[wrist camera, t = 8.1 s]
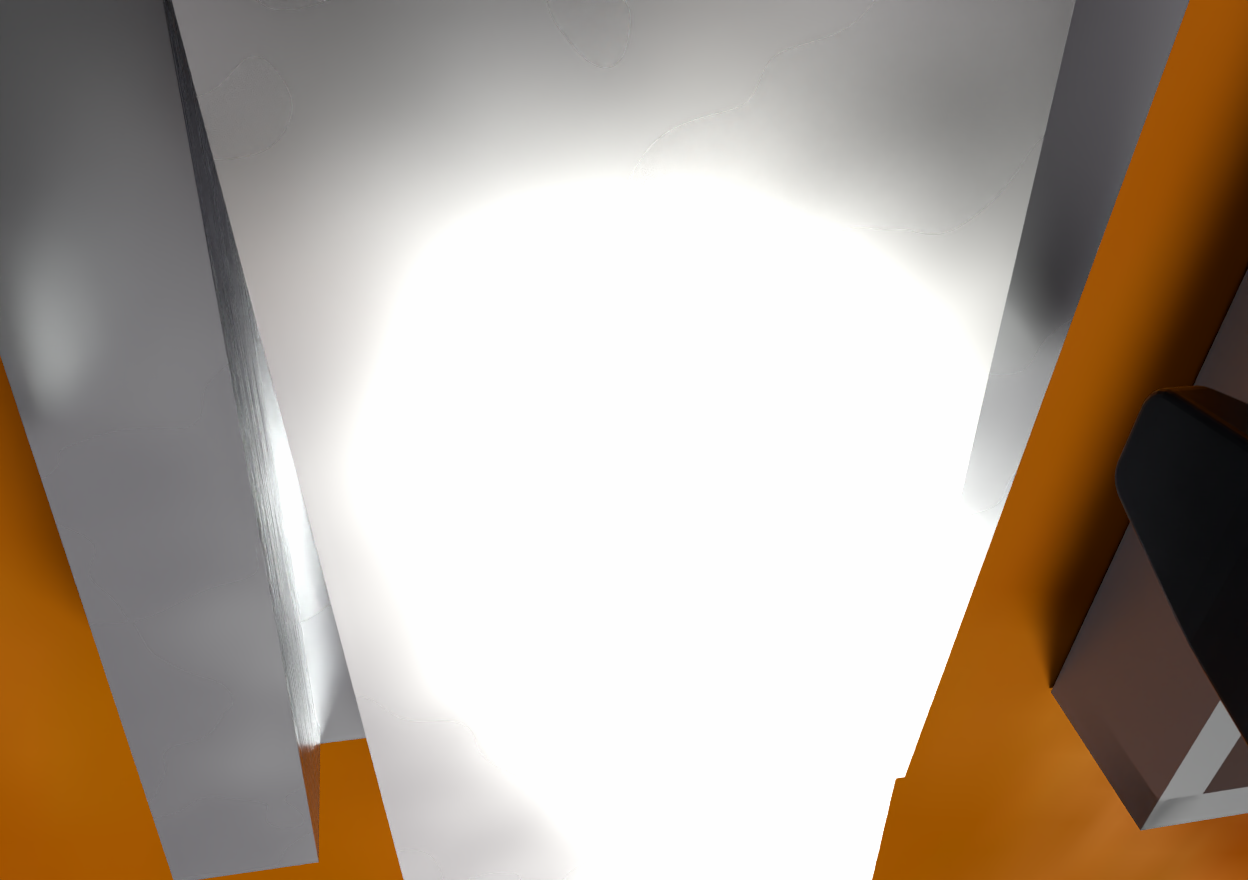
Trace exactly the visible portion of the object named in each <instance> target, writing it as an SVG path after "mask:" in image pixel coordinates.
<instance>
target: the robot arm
mask: <svg viewBox="0 0 1248 880" xmlns="http://www.w3.org/2000/svg"><path fill="white" fill-rule="evenodd" d="M1115 486H1116V490H1117V494H1118V496H1119V499H1120V501H1121V503H1122V505H1123V507H1124V509H1125V512H1126V514H1127V516H1128V518H1129V520H1130V522H1131V524H1132V527H1133V529H1134V531H1135V533H1136V535H1137V537H1138V539H1139V542H1140V544H1141V546H1142V548H1143V550H1144V552H1145V555H1146V557H1147V559H1148V561H1149V563H1150V565H1151V567H1152V570H1153V572H1154V574H1155V576H1156V578H1157V580H1158V582H1159V585H1160V587H1161V589H1162V591H1163V593H1164V595H1165V597H1166V600H1167V602H1168V604H1169V606H1170V608H1171V610H1172V612H1173V615H1174V617H1175V619H1176V621H1177V623H1178V625H1179V627H1180V629H1181V631H1182V633H1183V635H1184V637H1185V639H1186V641H1187V643H1188V645H1189V647H1190V649H1191V651H1192V652H1193V654H1194V656H1195V658H1196V659H1197V661H1198V663H1199V665H1200V667H1201V668H1202V670H1203V672H1204V674H1205V675H1206V677H1207V679H1208V680H1209V682H1210V684H1211V685H1212V687H1213V689H1214V690H1215V692H1216V694H1217V695H1218V697H1219V699H1220V700H1221V702H1222V704H1223V705H1224V707H1225V709H1226V710H1227V712H1228V714H1229V716H1230V717H1231V719H1232V721H1233V722H1234V724H1235V726H1236V727H1237V729H1238V731H1239V732H1240V734H1241V736H1242V737H1243V739H1244V741H1245V742H1246V744H1247V746H1248V403H1245V402H1243V401H1241V400H1238V399H1236V398H1233V397H1231V396H1229V395H1226V394H1224V393H1221V392H1219V391H1217V390H1214V389H1212V388H1209V387H1205V386H1198V385H1196V386H1181V387H1167V388H1161V389H1158V390H1156V391H1153V392H1152V393H1151V394H1150V395H1149V396H1148V397H1147V398H1146V399H1145V401H1144V403H1143V404H1142V407H1141V409H1140V411H1139V413H1138V416H1137V418H1136V420H1135V423H1134V425H1133V427H1132V430H1131V432H1130V434H1129V436H1128V439H1127V441H1126V443H1125V446H1124V448H1123V450H1122V453H1121V455H1120V457H1119V459H1118V462H1117V465H1116V470H1115Z"/></svg>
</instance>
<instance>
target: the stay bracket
mask: <svg viewBox="0 0 1248 880" xmlns="http://www.w3.org/2000/svg"><path fill="white" fill-rule="evenodd" d="M1188 3H1189V0H1076V1H1075V6H1074V10H1073V14H1072V19H1071V23H1070V27H1069V31H1068V36H1067V40H1066V44H1065V49H1064V53H1063V57H1062V62H1061V66H1060V70H1059V75H1058V79H1057V83H1056V87H1055V92H1054V96H1053V100H1052V105H1051V109H1050V113H1049V118H1048V122H1047V126H1046V131H1045V135H1044V139H1043V144H1042V148H1041V152H1040V156H1039V161H1038V165H1037V169H1036V174H1035V178H1034V182H1033V187H1032V191H1031V195H1030V200H1029V204H1028V208H1027V212H1026V217H1025V221H1024V225H1023V230H1022V234H1021V238H1020V243H1019V247H1018V251H1017V256H1016V260H1015V264H1014V268H1013V273H1012V277H1011V281H1010V286H1009V290H1008V294H1007V299H1006V303H1005V307H1004V312H1003V316H1002V320H1001V324H1000V329H999V333H998V337H997V342H996V346H995V350H994V355H993V359H992V363H991V368H990V372H989V376H988V381H987V385H986V389H985V393H984V398H983V402H982V406H981V411H980V415H979V419H978V424H977V428H976V432H975V437H974V441H973V445H972V449H971V454H970V458H969V462H968V467H967V471H966V475H965V480H964V484H963V488H962V493H961V497H960V501H959V505H958V510H957V514H956V518H955V523H954V527H953V531H952V536H951V540H950V544H949V549H948V553H947V557H946V561H945V566H944V570H943V574H942V579H941V583H940V587H939V592H938V596H937V600H936V605H935V609H934V613H933V618H932V622H931V626H930V630H929V635H928V639H927V643H926V648H925V652H924V656H923V661H922V665H921V669H920V674H919V678H918V682H917V686H916V691H915V695H914V699H913V704H912V708H911V712H910V717H909V721H908V725H907V730H906V734H905V738H904V742H903V747H902V751H901V755H900V760H899V764H898V768H897V773H896V777H895V778H900V777H905V774H906V771H907V769H908V766H909V763H910V760H911V758H912V755H913V752H914V749H915V747H916V744H917V741H918V739H919V736H920V733H921V730H922V728H923V725H924V722H925V719H926V717H927V714H928V711H929V709H930V706H931V703H932V700H933V698H934V695H935V692H936V689H937V687H938V684H939V681H940V679H941V676H942V673H943V670H944V668H945V665H946V662H947V659H948V657H949V654H950V651H951V649H952V646H953V643H954V640H955V638H956V635H957V632H958V629H959V627H960V624H961V621H962V619H963V616H964V613H965V610H966V608H967V605H968V602H969V599H970V597H971V594H972V591H973V589H974V586H975V583H976V580H977V578H978V575H979V572H980V570H981V567H982V564H983V561H984V559H985V556H986V553H987V550H988V548H989V545H990V542H991V540H992V537H993V534H994V531H995V529H996V526H997V523H998V520H999V518H1000V515H1001V512H1002V510H1003V507H1004V504H1005V501H1006V499H1007V496H1008V493H1009V490H1010V488H1011V485H1012V482H1013V480H1014V477H1015V474H1016V471H1017V469H1018V466H1019V463H1020V460H1021V458H1022V455H1023V452H1024V450H1025V447H1026V444H1027V441H1028V439H1029V436H1030V433H1031V430H1032V428H1033V425H1034V422H1035V420H1036V417H1037V414H1038V411H1039V409H1040V406H1041V403H1042V400H1043V398H1044V395H1045V392H1046V390H1047V387H1048V384H1049V381H1050V379H1051V376H1052V373H1053V371H1054V368H1055V365H1056V362H1057V360H1058V357H1059V354H1060V351H1061V349H1062V346H1063V343H1064V341H1065V338H1066V335H1067V332H1068V330H1069V327H1070V324H1071V321H1072V319H1073V316H1074V313H1075V311H1076V308H1077V305H1078V302H1079V300H1080V297H1081V294H1082V291H1083V289H1084V286H1085V283H1086V281H1087V278H1088V275H1089V272H1090V270H1091V267H1092V264H1093V261H1094V259H1095V256H1096V253H1097V251H1098V248H1099V245H1100V242H1101V240H1102V237H1103V234H1104V231H1105V229H1106V226H1107V223H1108V221H1109V218H1110V215H1111V212H1112V210H1113V207H1114V204H1115V202H1116V199H1117V196H1118V193H1119V191H1120V188H1121V185H1122V182H1123V180H1124V177H1125V174H1126V172H1127V169H1128V166H1129V163H1130V161H1131V158H1132V155H1133V152H1134V150H1135V147H1136V144H1137V142H1138V139H1139V136H1140V133H1141V131H1142V128H1143V125H1144V122H1145V120H1146V117H1147V114H1148V112H1149V109H1150V106H1151V103H1152V101H1153V98H1154V95H1155V92H1156V90H1157V87H1158V84H1159V82H1160V79H1161V76H1162V73H1163V71H1164V68H1165V65H1166V62H1167V60H1168V57H1169V54H1170V52H1171V49H1172V46H1173V43H1174V41H1175V38H1176V35H1177V32H1178V30H1179V27H1180V24H1181V22H1182V19H1183V16H1184V13H1185V11H1186V8H1187V5H1188ZM0 356H1V359H2V362H3V365H4V368H5V371H6V374H7V377H8V380H9V383H10V386H11V389H12V392H13V395H14V398H15V401H16V404H17V407H18V410H19V413H20V416H21V419H22V422H23V425H24V428H25V431H26V434H27V437H28V440H29V443H30V447H31V450H32V453H33V456H34V459H35V462H36V465H37V468H38V471H39V474H40V477H41V480H42V483H43V486H44V489H45V492H46V495H47V498H48V501H49V504H50V507H51V510H52V513H53V516H54V519H55V522H56V525H57V528H58V531H59V534H60V537H61V540H62V543H63V546H64V549H65V553H66V556H67V559H68V562H69V565H70V568H71V571H72V574H73V577H74V580H75V583H76V586H77V589H78V592H79V595H80V598H81V601H82V604H83V607H84V610H85V613H86V616H87V619H88V622H89V625H90V628H91V631H92V634H93V637H94V640H95V643H96V646H97V649H98V652H99V655H100V658H101V662H102V665H103V668H104V671H105V674H106V677H107V680H108V683H109V686H110V689H111V692H112V695H113V698H114V701H115V704H116V707H117V710H118V713H119V716H120V719H121V722H122V725H123V728H124V731H125V734H126V737H127V740H128V743H129V746H130V749H131V752H132V755H133V758H134V761H135V764H136V767H137V771H138V774H139V777H140V780H141V783H142V786H143V789H144V792H145V795H146V798H147V801H148V804H149V807H150V810H151V813H152V816H153V819H154V822H155V825H156V828H157V831H158V834H159V837H160V840H161V843H162V846H163V849H164V852H165V855H166V858H167V861H168V864H169V867H170V870H171V873H172V877H173V880H198V879H205V878H212V877H219V876H226V875H232V874H239V873H246V872H253V871H260V870H267V869H274V868H281V867H288V866H294V865H301V864H308V863H315V862H319V787H320V743H328V742H336V741H344V740H352V739H360V738H366V735H365V731H364V727H363V723H362V720H361V716H360V712H359V708H358V704H357V701H356V697H355V693H354V689H353V685H352V682H351V678H350V674H349V670H348V667H347V663H346V659H345V655H344V651H343V648H342V644H341V640H340V636H339V632H338V629H337V625H336V621H335V617H334V613H333V610H332V606H331V602H330V598H329V595H328V591H327V587H326V583H325V579H324V576H323V572H322V568H321V564H320V560H319V557H318V553H317V549H316V545H315V542H314V538H313V534H312V530H311V526H310V523H309V519H308V515H307V511H306V507H305V504H304V500H303V496H302V492H301V488H300V485H299V481H298V477H297V473H296V470H295V466H294V462H293V458H292V454H291V451H290V447H289V443H288V439H287V435H286V432H285V428H284V424H283V420H282V416H281V413H280V409H279V405H278V401H277V398H276V394H275V390H274V386H273V382H272V379H271V375H270V371H269V367H268V363H267V360H266V356H265V352H264V348H263V344H262V341H261V337H260V333H259V329H258V326H257V322H256V318H255V314H254V310H253V307H252V303H251V299H250V295H249V291H248V288H247V284H246V280H245V276H244V273H243V269H242V265H241V261H240V257H239V254H238V250H237V246H236V242H235V238H234V235H233V231H232V227H231V223H230V219H229V216H228V212H227V208H226V204H225V201H224V197H223V193H222V189H221V185H220V182H219V178H218V174H217V170H216V166H215V163H214V159H213V155H212V151H211V147H210V144H209V140H208V136H207V132H206V129H205V125H204V121H203V117H202V113H201V110H200V106H199V102H198V98H197V94H196V91H195V87H194V83H193V79H192V75H191V72H190V68H189V64H188V60H187V57H186V53H185V49H184V45H183V41H182V38H181V34H180V30H179V26H178V22H177V19H176V15H175V11H174V7H173V4H172V0H0Z"/></svg>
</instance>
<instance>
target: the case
mask: <svg viewBox="0 0 1248 880" xmlns="http://www.w3.org/2000/svg"><path fill="white" fill-rule="evenodd" d="M1196 385H1198V386H1205V387H1209V388H1212V389H1214V390H1217V391H1219V392H1221V393H1224V394H1226V395H1229V396H1231V397H1233V398H1236V399H1238V400H1241V401H1243V402H1245V403H1248V269H1247V272H1246V274H1245V276H1244V278H1243V280H1242V282H1241V284H1240V287H1239V289H1238V291H1237V293H1236V295H1235V297H1234V299H1233V302H1232V304H1231V306H1230V308H1229V310H1228V312H1227V315H1226V317H1225V319H1224V321H1223V323H1222V325H1221V327H1220V330H1219V332H1218V334H1217V336H1216V338H1215V340H1214V343H1213V345H1212V347H1211V349H1210V351H1209V353H1208V355H1207V358H1206V360H1205V362H1204V364H1203V366H1202V368H1201V371H1200V373H1199V375H1198V377H1197V379H1196V381H1195V383H1194V386H1196ZM1051 693H1052V694H1053V696H1054V697H1055V699H1056V700H1057V702H1058V704H1059V705H1060V707H1061V708H1062V710H1063V711H1064V713H1065V714H1066V716H1067V717H1068V719H1069V721H1070V722H1071V724H1072V725H1073V727H1074V728H1075V730H1076V731H1077V733H1078V734H1079V736H1080V738H1081V739H1082V741H1083V742H1084V744H1085V745H1086V747H1087V748H1088V750H1089V751H1090V753H1091V755H1092V756H1093V758H1094V759H1095V761H1096V762H1097V764H1098V765H1099V767H1100V768H1101V770H1102V772H1103V773H1104V775H1105V776H1106V778H1107V779H1108V781H1109V782H1110V784H1111V785H1112V787H1113V789H1114V790H1115V792H1116V793H1117V795H1118V796H1119V798H1120V799H1121V801H1122V802H1123V804H1124V806H1125V807H1126V809H1127V810H1128V812H1129V813H1130V815H1131V816H1132V818H1133V819H1134V821H1135V823H1136V824H1137V826H1138V827H1139V829H1140V830H1146V829H1152V828H1158V827H1164V826H1170V825H1176V824H1182V823H1188V822H1195V821H1201V820H1207V819H1213V818H1219V817H1225V816H1231V815H1237V814H1243V813H1248V746H1247V744H1246V742H1245V741H1244V739H1243V737H1242V736H1241V734H1240V732H1239V731H1238V729H1237V727H1236V726H1235V724H1234V722H1233V721H1232V719H1231V717H1230V716H1229V714H1228V712H1227V710H1226V709H1225V707H1224V705H1223V704H1222V702H1221V700H1220V699H1219V697H1218V695H1217V694H1216V692H1215V690H1214V689H1213V687H1212V685H1211V684H1210V682H1209V680H1208V679H1207V677H1206V675H1205V674H1204V672H1203V670H1202V668H1201V667H1200V665H1199V663H1198V661H1197V659H1196V658H1195V656H1194V654H1193V652H1192V651H1191V649H1190V647H1189V645H1188V643H1187V641H1186V639H1185V637H1184V635H1183V633H1182V631H1181V629H1180V627H1179V625H1178V623H1177V621H1176V619H1175V617H1174V615H1173V612H1172V610H1171V608H1170V606H1169V604H1168V602H1167V600H1166V597H1165V595H1164V593H1163V591H1162V589H1161V587H1160V585H1159V582H1158V580H1157V578H1156V576H1155V574H1154V572H1153V570H1152V567H1151V565H1150V563H1149V561H1148V559H1147V557H1146V555H1145V552H1144V550H1143V548H1142V546H1141V544H1140V542H1139V539H1138V537H1137V535H1136V533H1135V531H1134V529H1133V527H1132V524H1131V522H1130V523H1129V525H1128V528H1127V530H1126V532H1125V534H1124V536H1123V538H1122V541H1121V543H1120V545H1119V547H1118V549H1117V551H1116V553H1115V556H1114V558H1113V560H1112V562H1111V564H1110V566H1109V569H1108V571H1107V573H1106V575H1105V577H1104V579H1103V581H1102V584H1101V586H1100V588H1099V590H1098V592H1097V594H1096V597H1095V599H1094V601H1093V603H1092V605H1091V607H1090V609H1089V612H1088V614H1087V616H1086V618H1085V620H1084V622H1083V624H1082V627H1081V629H1080V631H1079V633H1078V635H1077V637H1076V640H1075V642H1074V644H1073V646H1072V648H1071V650H1070V652H1069V655H1068V657H1067V659H1066V661H1065V663H1064V665H1063V668H1062V670H1061V672H1060V674H1059V676H1058V678H1057V680H1056V683H1055V685H1054V687H1053V689H1052V691H1051Z"/></svg>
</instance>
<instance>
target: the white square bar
mask: <svg viewBox="0 0 1248 880" xmlns="http://www.w3.org/2000/svg"><path fill="white" fill-rule="evenodd" d="M1075 1H1076V0H172V4H173V7H174V11H175V15H176V19H177V22H178V26H179V30H180V34H181V38H182V41H183V45H184V49H185V53H186V57H187V60H188V64H189V68H190V72H191V75H192V79H193V83H194V87H195V91H196V94H197V98H198V102H199V106H200V110H201V113H202V117H203V121H204V125H205V129H206V132H207V136H208V140H209V144H210V147H211V151H212V155H213V159H214V163H215V166H216V170H217V174H218V178H219V182H220V185H221V189H222V193H223V197H224V201H225V204H226V208H227V212H228V216H229V219H230V223H231V227H232V231H233V235H234V238H235V242H236V246H237V250H238V254H239V257H240V261H241V265H242V269H243V273H244V276H245V280H246V284H247V288H248V291H249V295H250V299H251V303H252V307H253V310H254V314H255V318H256V322H257V326H258V329H259V333H260V337H261V341H262V344H263V348H264V352H265V356H266V360H267V363H268V367H269V371H270V375H271V379H272V382H273V386H274V390H275V394H276V398H277V401H278V405H279V409H280V413H281V416H282V420H283V424H284V428H285V432H286V435H287V439H288V443H289V447H290V451H291V454H292V458H293V462H294V466H295V470H296V473H297V477H298V481H299V485H300V488H301V492H302V496H303V500H304V504H305V507H306V511H307V515H308V519H309V523H310V526H311V530H312V534H313V538H314V542H315V545H316V549H317V553H318V557H319V560H320V564H321V568H322V572H323V576H324V579H325V583H326V587H327V591H328V595H329V598H330V602H331V606H332V610H333V613H334V617H335V621H336V625H337V629H338V632H339V636H340V640H341V644H342V648H343V651H344V655H345V659H346V663H347V667H348V670H349V674H350V678H351V682H352V685H353V689H354V693H355V697H356V701H357V704H358V708H359V712H360V716H361V720H362V723H363V727H364V731H365V735H366V739H367V742H368V746H369V750H370V754H371V757H372V761H373V765H374V769H375V773H376V776H377V780H378V784H379V788H380V792H381V795H382V799H383V803H384V807H385V811H386V814H387V818H388V822H389V826H390V829H391V833H392V837H393V841H394V845H395V848H396V852H397V856H398V860H399V864H400V867H401V871H402V875H403V879H404V880H872V876H873V872H874V867H875V863H876V859H877V855H878V850H879V846H880V842H881V837H882V833H883V829H884V824H885V820H886V816H887V811H888V807H889V803H890V798H891V794H892V790H893V786H894V781H895V777H896V773H897V768H898V764H899V760H900V755H901V751H902V747H903V742H904V738H905V734H906V730H907V725H908V721H909V717H910V712H911V708H912V704H913V699H914V695H915V691H916V686H917V682H918V678H919V674H920V669H921V665H922V661H923V656H924V652H925V648H926V643H927V639H928V635H929V630H930V626H931V622H932V618H933V613H934V609H935V605H936V600H937V596H938V592H939V587H940V583H941V579H942V574H943V570H944V566H945V561H946V557H947V553H948V549H949V544H950V540H951V536H952V531H953V527H954V523H955V518H956V514H957V510H958V505H959V501H960V497H961V493H962V488H963V484H964V480H965V475H966V471H967V467H968V462H969V458H970V454H971V449H972V445H973V441H974V437H975V432H976V428H977V424H978V419H979V415H980V411H981V406H982V402H983V398H984V393H985V389H986V385H987V381H988V376H989V372H990V368H991V363H992V359H993V355H994V350H995V346H996V342H997V337H998V333H999V329H1000V324H1001V320H1002V316H1003V312H1004V307H1005V303H1006V299H1007V294H1008V290H1009V286H1010V281H1011V277H1012V273H1013V268H1014V264H1015V260H1016V256H1017V251H1018V247H1019V243H1020V238H1021V234H1022V230H1023V225H1024V221H1025V217H1026V212H1027V208H1028V204H1029V200H1030V195H1031V191H1032V187H1033V182H1034V178H1035V174H1036V169H1037V165H1038V161H1039V156H1040V152H1041V148H1042V144H1043V139H1044V135H1045V131H1046V126H1047V122H1048V118H1049V113H1050V109H1051V105H1052V100H1053V96H1054V92H1055V87H1056V83H1057V79H1058V75H1059V70H1060V66H1061V62H1062V57H1063V53H1064V49H1065V44H1066V40H1067V36H1068V31H1069V27H1070V23H1071V19H1072V14H1073V10H1074V6H1075Z"/></svg>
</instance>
